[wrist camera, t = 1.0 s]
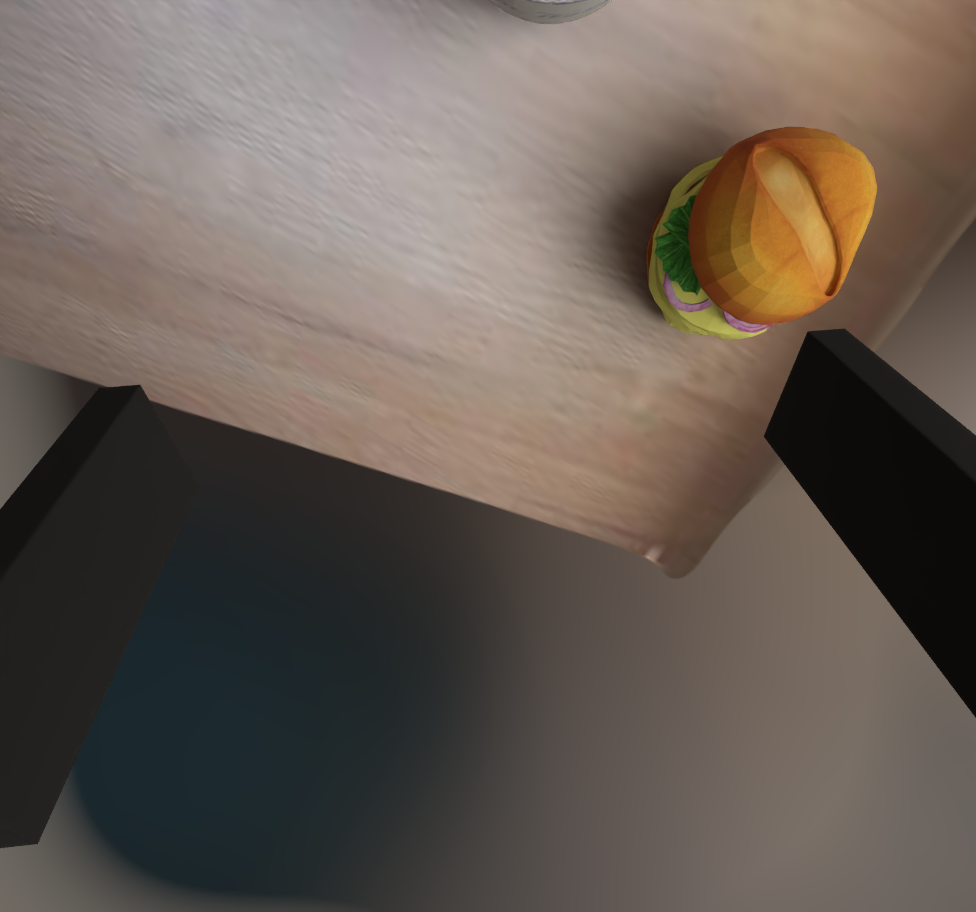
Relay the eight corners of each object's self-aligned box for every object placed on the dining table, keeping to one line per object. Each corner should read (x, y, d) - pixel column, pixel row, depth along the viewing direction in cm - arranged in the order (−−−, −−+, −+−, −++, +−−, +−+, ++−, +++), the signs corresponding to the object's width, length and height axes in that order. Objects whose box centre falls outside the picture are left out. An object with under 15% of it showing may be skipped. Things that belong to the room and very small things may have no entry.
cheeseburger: (600, 297, 34) (652, 306, 25) (679, 123, 31) (773, 57, 21) (731, 355, 36) (828, 384, 26) (819, 195, 32) (964, 163, 23)
